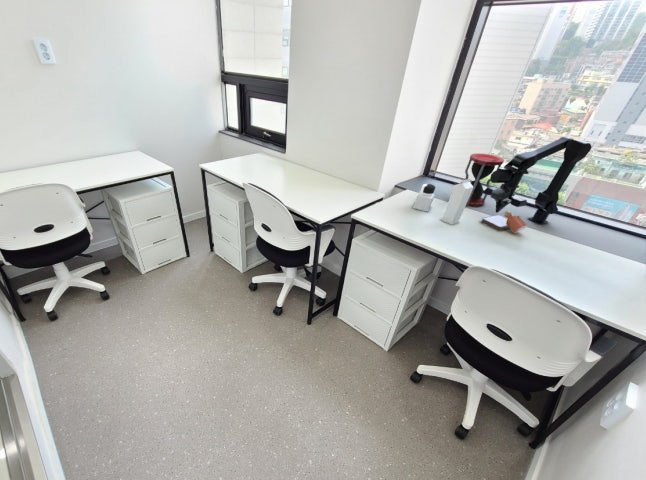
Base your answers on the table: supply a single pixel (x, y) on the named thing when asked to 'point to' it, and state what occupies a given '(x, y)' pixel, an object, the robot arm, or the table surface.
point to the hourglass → (481, 175)
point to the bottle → (514, 222)
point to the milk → (457, 202)
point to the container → (425, 197)
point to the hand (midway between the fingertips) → (496, 212)
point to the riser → (496, 222)
